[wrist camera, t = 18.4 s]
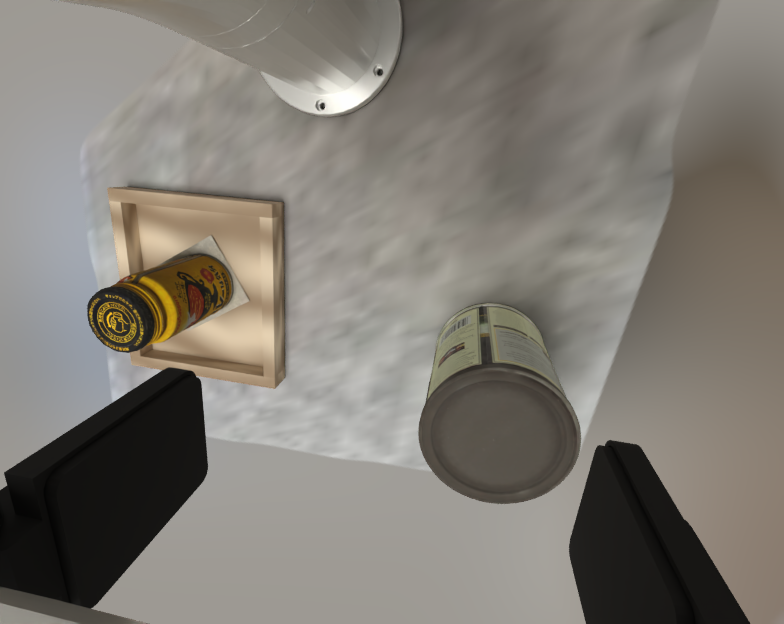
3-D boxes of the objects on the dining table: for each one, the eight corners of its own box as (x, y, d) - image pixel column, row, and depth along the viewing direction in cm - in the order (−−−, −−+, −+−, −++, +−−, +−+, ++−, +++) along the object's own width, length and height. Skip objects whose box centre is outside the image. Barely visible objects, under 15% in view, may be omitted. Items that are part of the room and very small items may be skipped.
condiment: (250, 300, 43) (171, 346, 32) (188, 330, 46) (95, 383, 34) (212, 234, 42) (115, 258, 30) (150, 269, 44) (40, 303, 33)
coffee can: (515, 416, 42) (534, 527, 29) (420, 375, 43) (396, 467, 30) (566, 328, 39) (614, 409, 26) (461, 284, 39) (455, 343, 26)
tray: (127, 186, 42) (107, 187, 40) (283, 202, 40) (272, 204, 37) (148, 355, 48) (131, 364, 46) (285, 377, 46) (274, 388, 44)
